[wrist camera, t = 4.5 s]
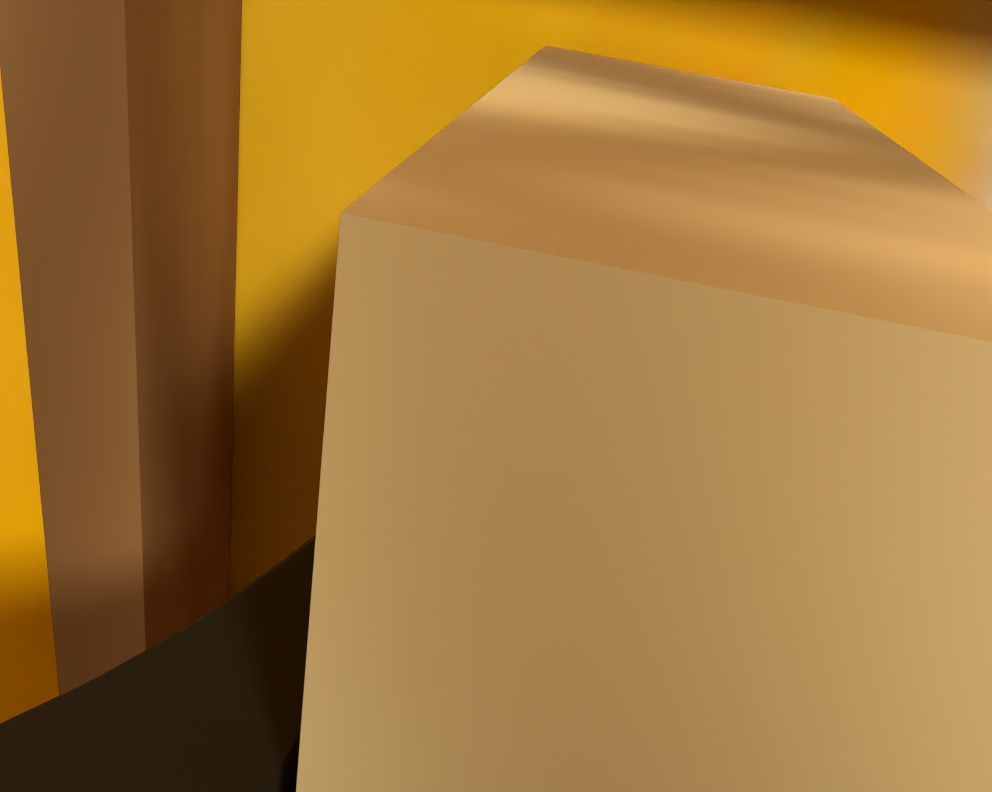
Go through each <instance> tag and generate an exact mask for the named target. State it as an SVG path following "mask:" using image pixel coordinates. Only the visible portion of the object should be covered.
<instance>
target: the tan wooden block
mask: <svg viewBox="0 0 992 792" xmlns="http://www.w3.org/2000/svg"><path fill="white" fill-rule="evenodd" d="M296 792H992V211H991V210H989V209H988V208H987V207H985V206H984V205H982V204H981V203H980V202H978V201H977V200H975V199H974V198H973V197H971V196H970V195H968V194H967V193H966V192H964V191H963V190H961V189H960V188H959V187H957V186H956V185H954V184H953V183H952V182H950V181H949V180H947V179H946V178H945V177H943V176H942V175H940V174H939V173H938V172H936V171H935V170H933V169H932V168H931V167H929V166H928V165H926V164H925V163H924V162H922V161H921V160H919V159H918V158H917V157H915V156H914V155H912V154H911V153H910V152H908V151H907V150H905V149H904V148H903V147H901V146H900V145H898V144H897V143H896V142H894V141H893V140H891V139H890V138H889V137H887V136H886V135H884V134H883V133H882V132H880V131H879V130H877V129H876V128H875V127H873V126H872V125H870V124H869V123H868V122H866V121H865V120H863V119H862V118H861V117H859V116H858V115H856V114H855V113H854V112H852V111H851V110H849V109H848V108H847V107H845V106H844V105H842V104H841V103H840V102H838V101H837V100H835V99H834V98H829V97H824V96H818V95H813V94H807V93H802V92H796V91H791V90H785V89H780V88H774V87H769V86H764V85H758V84H753V83H747V82H742V81H736V80H731V79H725V78H720V77H714V76H709V75H703V74H698V73H692V72H687V71H682V70H676V69H671V68H665V67H660V66H654V65H649V64H643V63H638V62H632V61H627V60H621V59H616V58H611V57H605V56H600V55H594V54H589V53H583V52H578V51H572V50H567V49H561V48H556V47H550V46H545V47H543V48H542V49H541V50H540V51H538V52H537V53H536V54H535V55H534V56H532V57H531V58H530V59H529V60H527V61H526V62H525V63H524V64H523V65H521V66H520V67H519V68H518V69H516V70H515V71H514V72H513V73H511V74H510V75H509V76H508V77H507V78H505V79H504V80H503V81H502V82H500V83H499V84H498V85H497V86H496V87H494V88H493V89H492V90H491V91H489V92H488V93H487V94H486V95H485V96H483V97H482V98H481V99H480V100H478V101H477V102H476V103H475V104H473V105H472V106H471V107H470V108H469V109H467V110H466V111H465V112H464V113H462V114H461V115H460V116H459V117H458V118H456V119H455V120H454V121H453V122H451V123H450V124H449V125H448V126H447V127H445V128H444V129H443V130H442V131H440V132H439V133H438V134H437V135H435V136H434V137H433V138H432V139H431V140H429V141H428V142H427V143H426V144H424V145H423V146H422V147H421V148H420V149H418V150H417V151H416V152H415V153H413V154H412V155H411V156H410V157H409V158H407V159H406V160H405V161H404V162H402V163H401V164H400V165H399V166H397V167H396V168H395V169H394V170H393V171H391V172H390V173H389V174H388V175H386V176H385V177H384V178H383V179H382V180H380V181H379V182H378V183H377V184H375V185H374V186H373V187H372V188H371V189H369V190H368V191H367V192H366V193H364V194H363V195H362V196H361V197H360V198H358V199H357V200H356V201H355V202H353V203H352V204H351V205H350V206H348V207H347V208H346V209H345V210H344V211H342V212H341V216H340V229H339V242H338V255H337V268H336V281H335V294H334V307H333V320H332V333H331V345H330V358H329V371H328V384H327V397H326V410H325V423H324V436H323V449H322V462H321V475H320V488H319V500H318V513H317V526H316V539H315V552H314V565H313V578H312V591H311V604H310V617H309V630H308V642H307V655H306V668H305V681H304V694H303V707H302V720H301V733H300V746H299V759H298V772H297V785H296Z"/></svg>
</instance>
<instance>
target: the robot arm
mask: <svg viewBox="0 0 992 792" xmlns="http://www.w3.org/2000/svg"><path fill="white" fill-rule="evenodd" d="M315 539H316V535H315V536H314V537H313V538H311V539H310V540H309V541H307V542H306V543H305V544H303V545H302V546H301V547H299V548H298V549H297V550H296V551H294V552H293V553H292V554H290V555H289V556H288V557H286V558H285V559H284V560H282V561H281V562H280V563H278V564H277V565H276V566H274V567H273V568H272V569H270V570H269V571H268V572H266V573H265V574H263V575H262V576H261V577H259V578H258V579H256V580H255V581H253V582H252V583H250V584H249V585H247V586H246V587H244V588H243V589H241V590H240V591H238V592H237V593H235V594H234V595H232V596H231V597H229V598H228V599H226V600H225V601H223V602H222V603H220V604H219V605H217V606H216V607H214V608H213V609H211V610H210V611H209V612H207V613H206V614H204V615H203V616H201V617H199V618H198V619H196V620H195V621H193V622H192V623H190V624H188V625H187V626H185V627H183V628H182V629H180V630H178V631H177V632H175V633H174V634H172V635H170V636H169V637H167V638H165V639H164V640H162V641H160V642H159V643H157V644H155V645H153V646H152V647H150V648H148V649H147V650H145V651H143V652H141V653H140V654H138V655H136V656H134V657H132V658H131V659H129V660H127V661H125V662H123V663H122V664H120V665H118V666H116V667H114V668H113V669H111V670H109V671H107V672H105V673H104V674H102V675H100V676H98V677H96V678H94V679H92V680H90V681H88V682H86V683H84V684H82V685H80V686H78V687H76V688H74V689H72V690H70V691H68V692H66V693H64V694H62V695H60V696H58V697H56V698H54V699H52V700H50V701H47V702H45V703H43V704H41V705H39V706H37V707H35V708H33V709H30V710H28V711H26V712H24V713H22V714H20V715H18V716H16V717H13V718H11V719H9V720H7V721H5V722H3V723H1V724H0V792H296V785H297V772H298V759H299V746H300V733H301V720H302V707H303V694H304V681H305V668H306V655H307V642H308V630H309V617H310V604H311V591H312V578H313V565H314V552H315Z"/></svg>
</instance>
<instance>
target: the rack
mask: <svg viewBox="0 0 992 792" xmlns="http://www.w3.org/2000/svg"><path fill="white" fill-rule="evenodd" d="M241 22H242V0H0V69H1V79H2V90H3V101H4V111H5V122H6V133H7V143H8V154H9V164H10V175H11V186H12V196H13V207H14V217H15V228H16V239H17V249H18V260H19V271H20V281H21V292H22V302H23V313H24V324H25V334H26V345H27V355H28V366H29V377H30V387H31V398H32V409H33V419H34V430H35V440H36V451H37V462H38V472H39V483H40V493H41V504H42V515H43V525H44V536H45V547H46V557H47V568H48V578H49V589H50V600H51V610H52V621H53V632H54V642H55V653H56V663H57V674H58V685H59V695H62V694H64V693H66V692H68V691H70V690H72V689H74V688H76V687H78V686H80V685H82V684H84V683H86V682H88V681H90V680H92V679H94V678H96V677H98V676H100V675H102V674H104V673H105V672H107V671H109V670H111V669H113V668H114V667H116V666H118V665H120V664H122V663H123V662H125V661H127V660H129V659H131V658H132V657H134V656H136V655H138V654H140V653H141V652H143V651H145V650H147V649H148V648H150V647H152V646H153V645H155V644H157V643H159V642H160V641H162V640H164V639H165V638H167V637H169V636H170V635H172V634H174V633H175V632H177V631H178V630H180V629H182V628H183V627H185V626H187V625H188V624H190V623H192V622H193V621H195V620H196V619H198V618H199V617H201V616H203V615H204V614H206V613H207V612H209V611H210V610H211V609H213V608H214V607H216V606H217V605H219V604H220V603H222V602H223V601H225V600H226V599H228V593H229V549H230V505H231V461H232V417H233V373H234V329H235V285H236V241H237V198H238V154H239V110H240V66H241Z"/></svg>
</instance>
